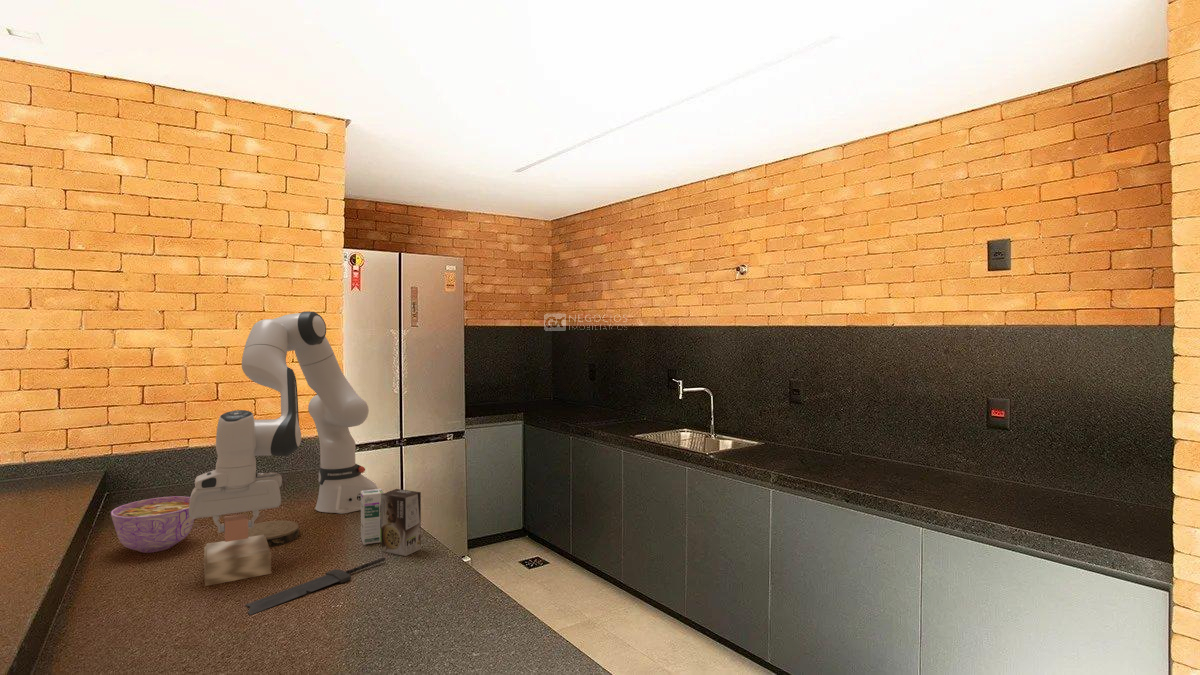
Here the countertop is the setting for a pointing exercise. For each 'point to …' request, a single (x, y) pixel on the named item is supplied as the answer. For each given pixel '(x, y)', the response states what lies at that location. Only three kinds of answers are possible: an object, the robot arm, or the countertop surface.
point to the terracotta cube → (236, 527)
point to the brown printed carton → (401, 522)
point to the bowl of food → (153, 523)
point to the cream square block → (236, 560)
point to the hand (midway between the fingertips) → (236, 529)
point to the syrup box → (371, 516)
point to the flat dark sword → (305, 588)
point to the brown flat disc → (276, 531)
